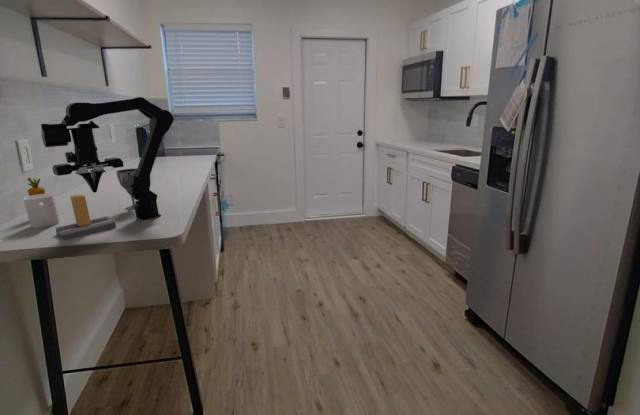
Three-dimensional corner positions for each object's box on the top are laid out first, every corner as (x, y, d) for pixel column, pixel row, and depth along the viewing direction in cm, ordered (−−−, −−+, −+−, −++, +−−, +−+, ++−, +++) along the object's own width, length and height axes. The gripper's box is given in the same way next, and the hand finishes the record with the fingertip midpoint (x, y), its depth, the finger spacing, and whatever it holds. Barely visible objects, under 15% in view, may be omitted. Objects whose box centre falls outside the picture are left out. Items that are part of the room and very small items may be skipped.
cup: (58, 219, 135) (52, 192, 133) (61, 226, 126) (54, 198, 124) (30, 224, 130) (22, 196, 128) (31, 232, 121) (23, 202, 119)
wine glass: (118, 210, 145) (111, 172, 141) (134, 204, 152) (127, 168, 148) (135, 210, 142) (128, 172, 138) (149, 205, 150) (143, 168, 146)
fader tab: (88, 223, 123) (81, 193, 120) (92, 226, 120) (86, 196, 117) (75, 226, 121) (68, 196, 118) (80, 229, 117) (73, 198, 114)
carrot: (54, 214, 141) (44, 176, 137) (41, 218, 137) (31, 178, 133) (44, 214, 143) (34, 176, 139) (31, 218, 138) (20, 178, 134)
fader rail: (107, 222, 129) (106, 215, 128) (116, 227, 123) (114, 219, 123) (56, 234, 118) (55, 226, 118) (63, 240, 113) (61, 232, 112)
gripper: (108, 140, 128) (116, 184, 133) (43, 146, 116) (54, 194, 120) (119, 141, 121) (128, 188, 125) (51, 147, 108) (63, 199, 112)
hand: (94, 192), depth 121 cm, fingers closed
